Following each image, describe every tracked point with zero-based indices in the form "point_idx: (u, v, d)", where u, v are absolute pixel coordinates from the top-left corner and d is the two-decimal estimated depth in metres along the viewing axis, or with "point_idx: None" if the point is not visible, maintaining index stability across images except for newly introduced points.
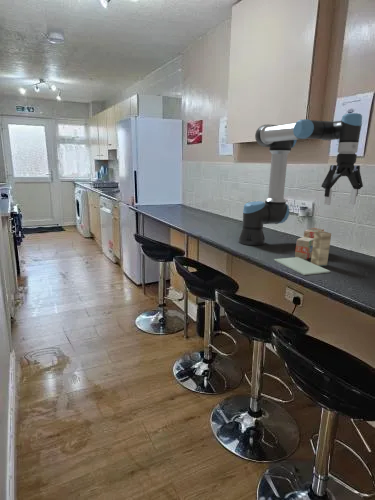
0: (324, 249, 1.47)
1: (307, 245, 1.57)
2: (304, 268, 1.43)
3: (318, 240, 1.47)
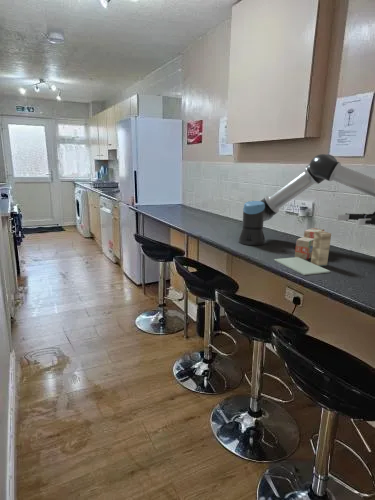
0: (324, 249, 1.47)
1: (307, 245, 1.57)
2: (304, 268, 1.43)
3: (318, 240, 1.47)
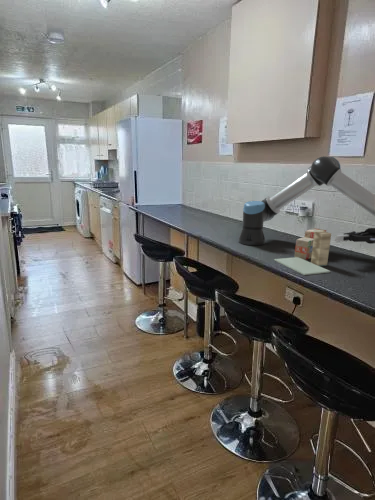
0: (324, 249, 1.47)
1: (306, 245, 1.56)
2: (304, 268, 1.43)
3: (318, 240, 1.47)
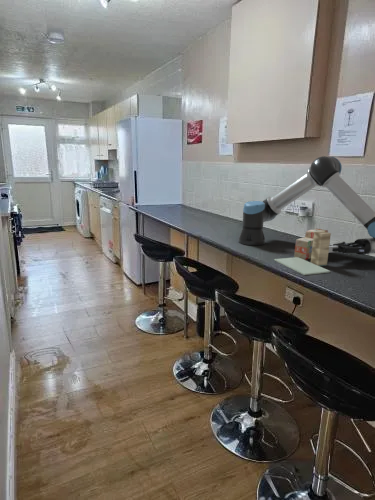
0: (324, 249, 1.47)
1: (306, 245, 1.56)
2: (304, 268, 1.43)
3: (318, 240, 1.46)
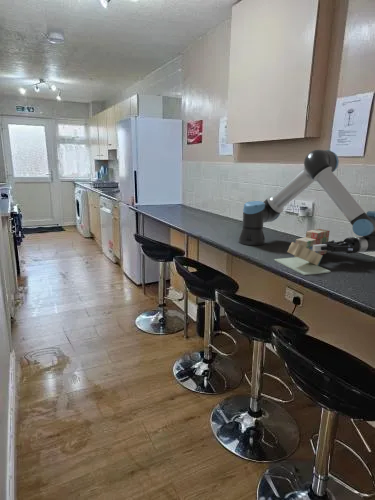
0: (308, 255, 1.45)
1: (305, 245, 1.56)
2: (304, 268, 1.43)
3: (297, 256, 1.45)
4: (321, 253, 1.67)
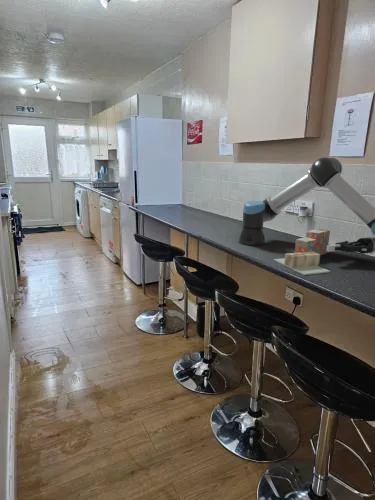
0: (305, 261, 1.45)
1: (305, 245, 1.56)
2: (304, 268, 1.43)
3: None
4: (321, 253, 1.67)
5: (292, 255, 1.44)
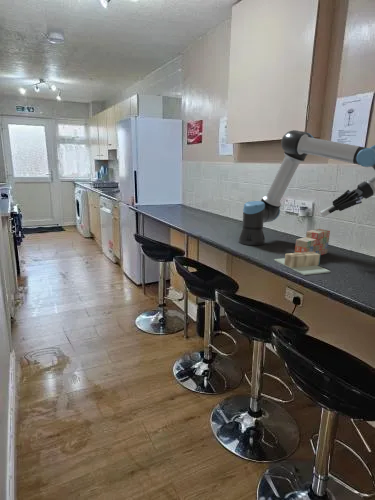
0: (305, 261, 1.45)
1: (305, 245, 1.56)
2: (304, 268, 1.43)
3: None
4: (321, 253, 1.67)
5: (292, 255, 1.44)
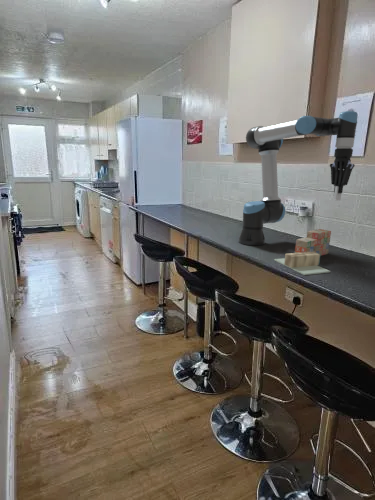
0: (305, 261, 1.45)
1: (306, 245, 1.56)
2: (304, 268, 1.43)
3: None
4: (322, 253, 1.67)
5: (292, 255, 1.44)
